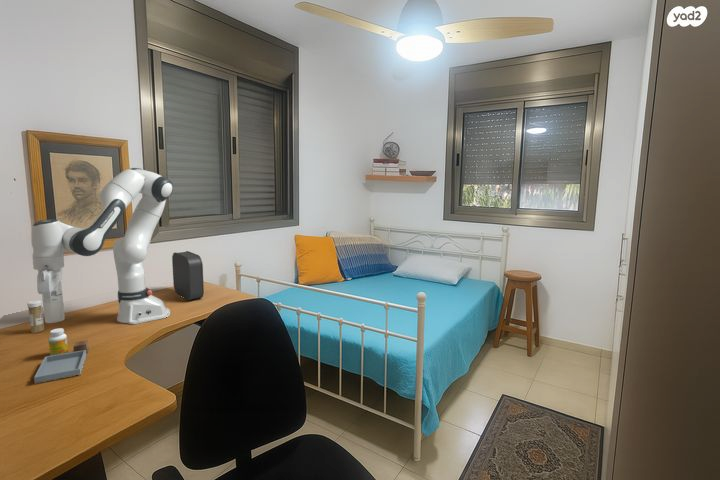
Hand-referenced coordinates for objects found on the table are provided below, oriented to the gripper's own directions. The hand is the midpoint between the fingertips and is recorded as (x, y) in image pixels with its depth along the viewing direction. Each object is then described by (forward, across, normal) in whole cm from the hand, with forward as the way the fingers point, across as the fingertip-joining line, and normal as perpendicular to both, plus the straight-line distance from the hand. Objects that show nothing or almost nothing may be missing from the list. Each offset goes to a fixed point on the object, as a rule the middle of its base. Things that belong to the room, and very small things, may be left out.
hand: (51, 298), depth 139 cm
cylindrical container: (+21, +39, +6) cm, 45 cm away
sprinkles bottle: (+22, +27, +10) cm, 36 cm away
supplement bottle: (+22, -3, -2) cm, 22 cm away
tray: (+21, -17, -5) cm, 28 cm away
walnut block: (+21, -5, -9) cm, 23 cm away
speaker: (+20, +52, -52) cm, 77 cm away
